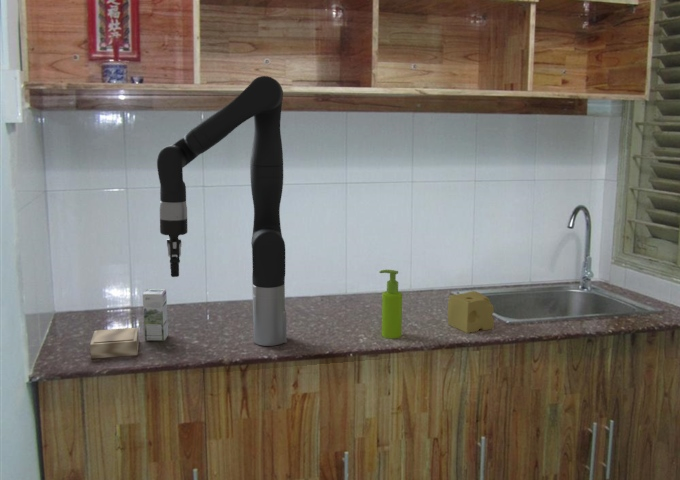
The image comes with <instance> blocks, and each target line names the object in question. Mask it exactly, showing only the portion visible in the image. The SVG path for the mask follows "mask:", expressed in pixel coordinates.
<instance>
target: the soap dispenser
mask: <svg viewBox="0 0 680 480" xmlns="http://www.w3.org/2000/svg"><path fill="white" fill-rule="evenodd" d="M379 273H380V274H389V280H387V282H386V291H383V292H382V300H381V301H382V302H381V303H382V304H381V305H382V307H381V337H382V338H385V339H390V340H391V339H392V340H393V339H400V338H402V327H403V326H402V323H403V322H402V319H403V316H402V315H403V293H402V292H400V291H399V281H397V280H396V279H397V278H396V277H397V276H396V275H397V274H399V271H398V270H395V269H382V270H379Z"/></svg>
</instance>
